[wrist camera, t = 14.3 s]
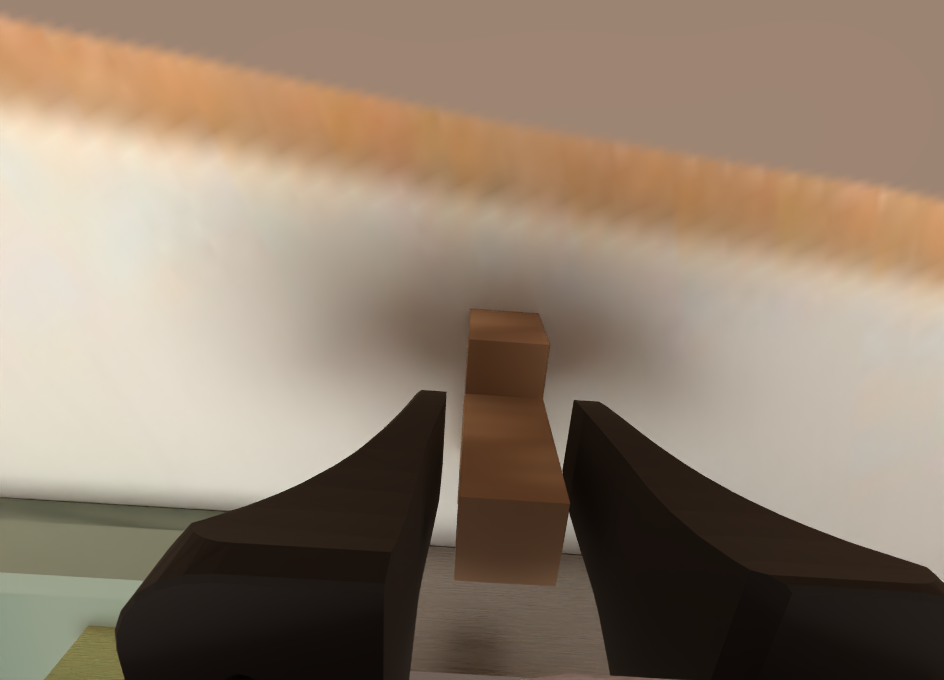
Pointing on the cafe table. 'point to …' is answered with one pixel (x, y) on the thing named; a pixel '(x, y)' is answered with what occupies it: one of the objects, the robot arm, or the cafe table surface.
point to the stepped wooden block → (508, 457)
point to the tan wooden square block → (90, 657)
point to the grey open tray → (505, 625)
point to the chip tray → (72, 572)
